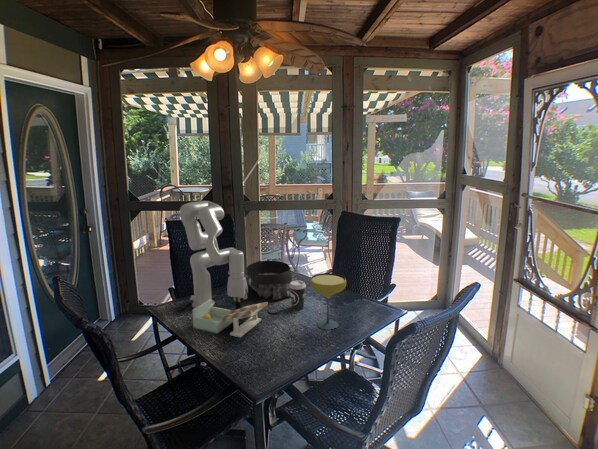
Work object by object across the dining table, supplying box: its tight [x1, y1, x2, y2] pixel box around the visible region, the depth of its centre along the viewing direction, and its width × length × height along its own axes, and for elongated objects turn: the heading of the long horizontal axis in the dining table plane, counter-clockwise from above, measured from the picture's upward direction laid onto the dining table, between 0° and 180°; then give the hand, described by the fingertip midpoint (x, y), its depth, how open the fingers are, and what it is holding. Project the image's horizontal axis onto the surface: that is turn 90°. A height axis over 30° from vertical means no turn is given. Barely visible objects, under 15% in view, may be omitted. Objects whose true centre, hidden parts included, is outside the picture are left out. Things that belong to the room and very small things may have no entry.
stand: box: [229, 304, 262, 338], centre depth 192 cm, size 6×20×9 cm, turn 155°
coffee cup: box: [289, 280, 307, 311], centre depth 214 cm, size 10×10×15 cm
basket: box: [246, 259, 293, 301], centre depth 239 cm, size 28×35×16 cm
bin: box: [191, 299, 233, 334], centre depth 195 cm, size 15×15×10 cm
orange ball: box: [203, 314, 211, 320], centre depth 198 cm, size 4×4×4 cm
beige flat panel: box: [222, 301, 269, 322], centre depth 191 cm, size 18×16×3 cm
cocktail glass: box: [309, 272, 347, 331], centre depth 192 cm, size 18×18×25 cm
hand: (238, 308), depth 198 cm, fingers closed
